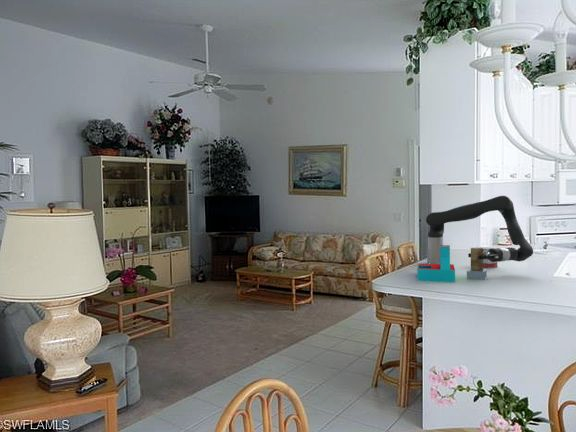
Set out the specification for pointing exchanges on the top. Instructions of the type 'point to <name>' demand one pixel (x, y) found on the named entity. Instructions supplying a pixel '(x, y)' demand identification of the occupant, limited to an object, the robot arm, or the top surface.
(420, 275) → the building blocks toy
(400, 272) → the top surface
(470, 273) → the plinth
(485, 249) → the ink box
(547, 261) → the top surface
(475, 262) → the pillar
